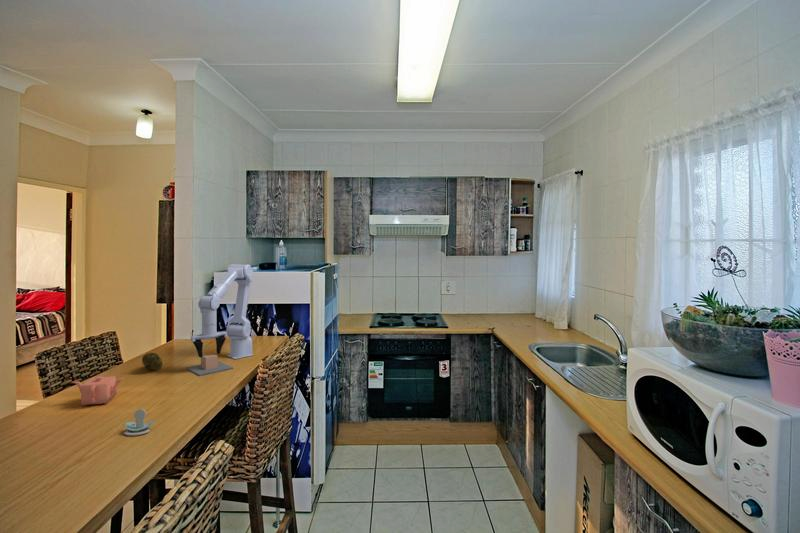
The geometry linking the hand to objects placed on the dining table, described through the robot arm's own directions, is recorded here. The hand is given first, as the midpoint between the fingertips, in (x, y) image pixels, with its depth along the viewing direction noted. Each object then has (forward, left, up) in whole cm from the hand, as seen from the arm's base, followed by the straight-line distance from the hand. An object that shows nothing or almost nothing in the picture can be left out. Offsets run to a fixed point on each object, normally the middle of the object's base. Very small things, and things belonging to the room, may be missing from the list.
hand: (209, 355), depth 175 cm
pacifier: (+39, +44, -6) cm, 60 cm away
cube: (0, 0, -5) cm, 5 cm away
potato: (+17, -15, -6) cm, 24 cm away
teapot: (+41, +10, -6) cm, 43 cm away
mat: (0, 0, -6) cm, 6 cm away
